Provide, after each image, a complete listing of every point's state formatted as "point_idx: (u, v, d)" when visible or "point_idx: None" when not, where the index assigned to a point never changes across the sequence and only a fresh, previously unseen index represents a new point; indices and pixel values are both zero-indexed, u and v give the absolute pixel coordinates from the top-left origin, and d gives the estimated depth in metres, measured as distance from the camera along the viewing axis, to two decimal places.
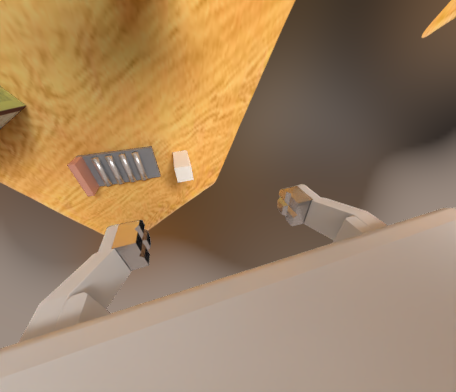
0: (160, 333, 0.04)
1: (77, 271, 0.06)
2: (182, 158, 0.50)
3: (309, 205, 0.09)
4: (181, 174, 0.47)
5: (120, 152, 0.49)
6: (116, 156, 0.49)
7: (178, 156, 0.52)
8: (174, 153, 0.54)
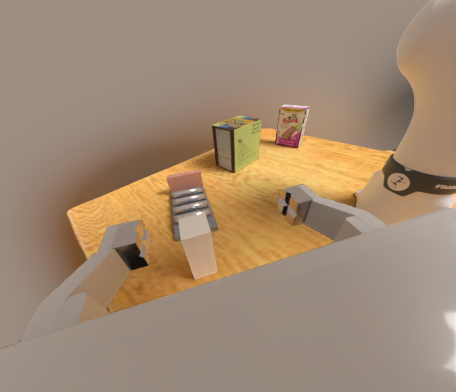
0: (160, 333, 0.04)
1: (77, 271, 0.06)
2: None
3: (309, 205, 0.09)
4: (193, 221, 0.27)
5: (208, 204, 0.47)
6: None
7: None
8: None
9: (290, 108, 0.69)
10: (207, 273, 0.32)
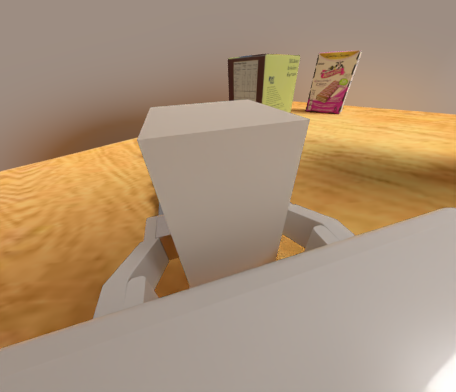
0: (160, 333, 0.04)
1: (129, 258, 0.07)
2: None
3: None
4: (208, 108, 0.07)
5: None
6: None
7: None
8: None
9: (334, 53, 0.49)
10: None
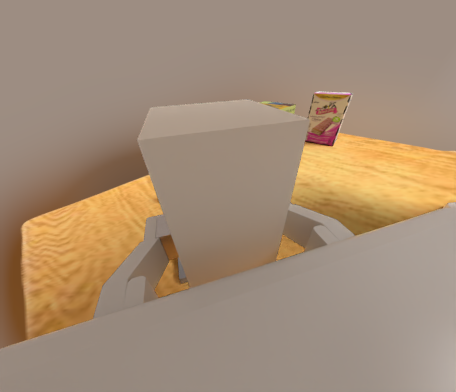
0: (160, 333, 0.04)
1: (129, 257, 0.07)
2: None
3: None
4: (209, 108, 0.07)
5: None
6: None
7: None
8: None
9: (328, 94, 0.54)
10: None
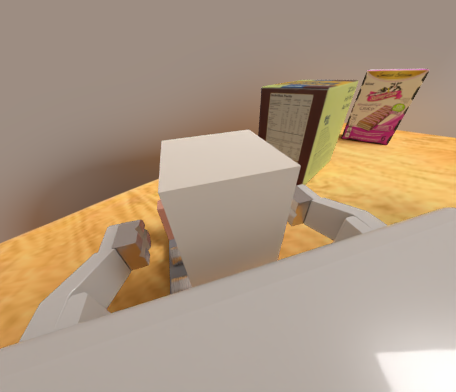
0: (160, 333, 0.04)
1: (77, 271, 0.06)
2: None
3: (309, 205, 0.09)
4: (214, 144, 0.07)
5: None
6: None
7: None
8: None
9: (390, 71, 0.38)
10: None
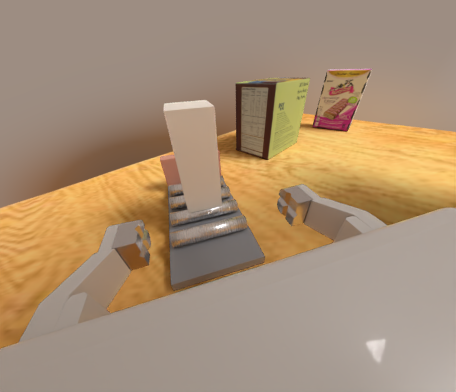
0: (160, 333, 0.04)
1: (77, 271, 0.06)
2: None
3: (309, 205, 0.09)
4: (186, 103, 0.17)
5: None
6: None
7: None
8: None
9: (344, 71, 0.48)
10: (207, 205, 0.22)
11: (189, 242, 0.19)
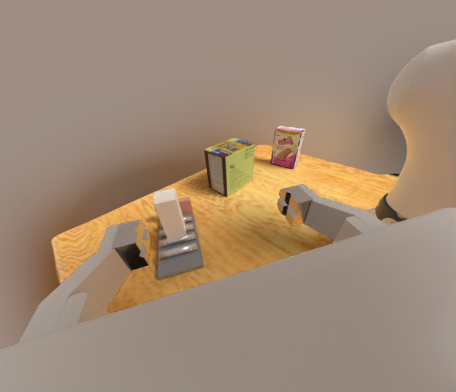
0: (160, 333, 0.04)
1: (77, 271, 0.06)
2: (181, 213, 0.40)
3: (309, 205, 0.09)
4: (165, 193, 0.37)
5: (196, 236, 0.45)
6: (191, 232, 0.46)
7: (182, 216, 0.42)
8: None
9: (285, 130, 0.68)
10: (178, 236, 0.42)
11: (167, 257, 0.39)
